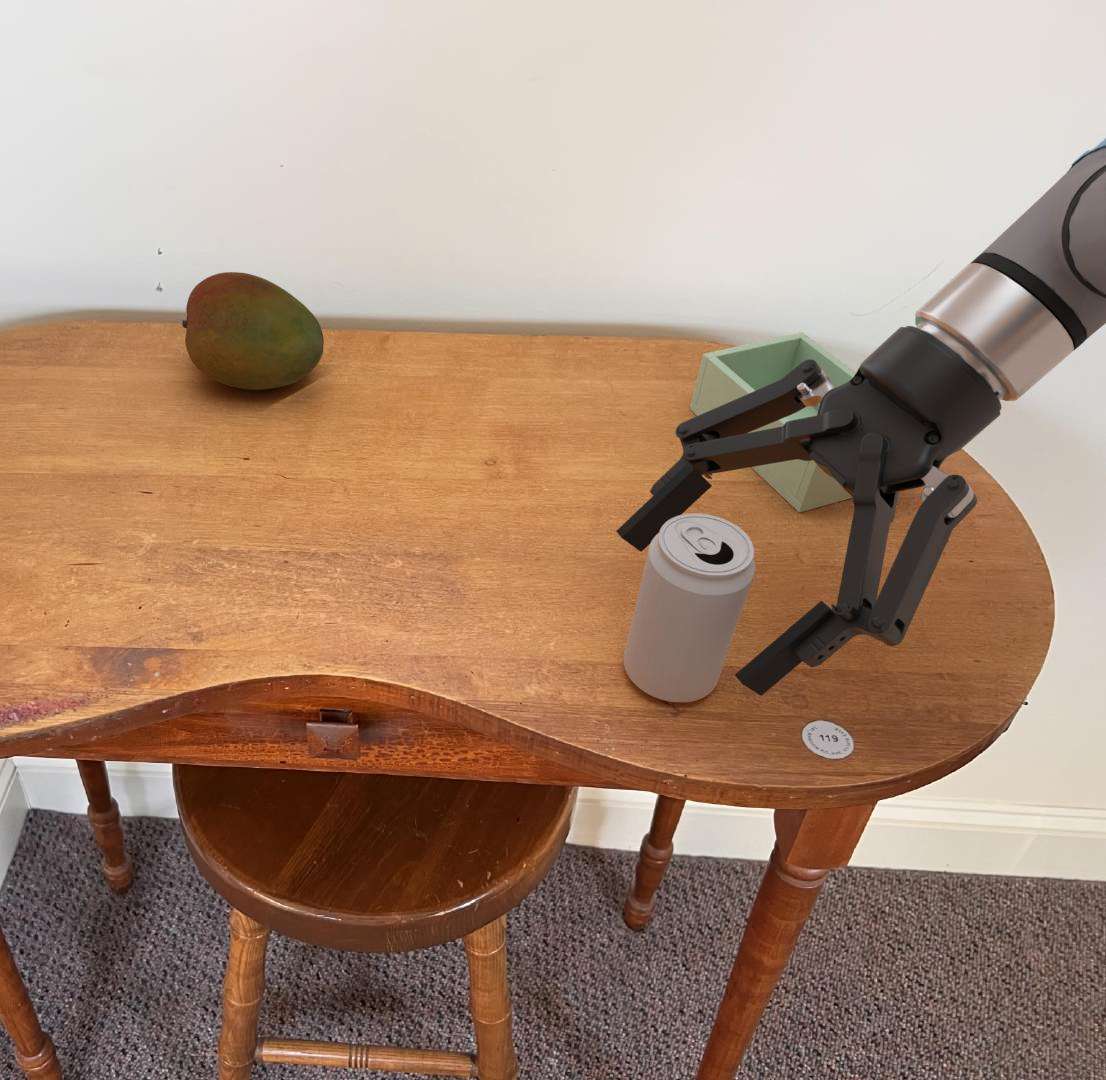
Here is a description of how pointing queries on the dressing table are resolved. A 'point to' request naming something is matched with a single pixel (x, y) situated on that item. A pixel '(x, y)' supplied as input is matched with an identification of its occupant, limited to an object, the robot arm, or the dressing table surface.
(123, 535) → the dressing table surface
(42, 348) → the dressing table surface
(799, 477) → the bin
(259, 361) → the fruit
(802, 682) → the dressing table surface
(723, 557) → the beverage can
